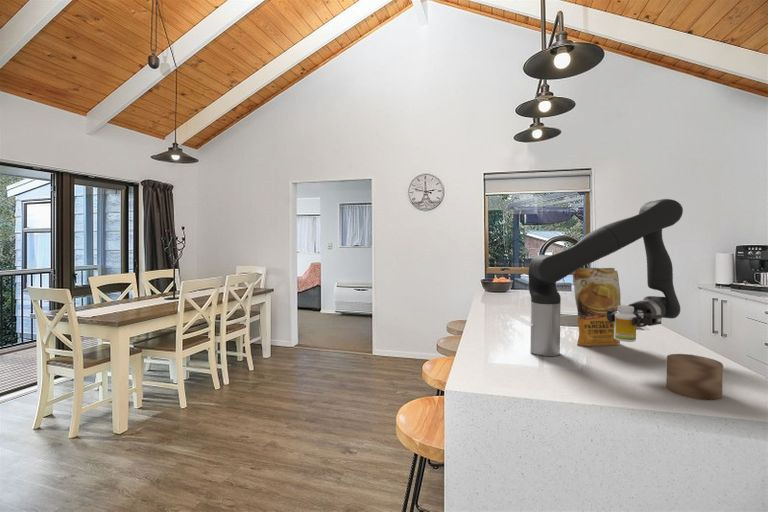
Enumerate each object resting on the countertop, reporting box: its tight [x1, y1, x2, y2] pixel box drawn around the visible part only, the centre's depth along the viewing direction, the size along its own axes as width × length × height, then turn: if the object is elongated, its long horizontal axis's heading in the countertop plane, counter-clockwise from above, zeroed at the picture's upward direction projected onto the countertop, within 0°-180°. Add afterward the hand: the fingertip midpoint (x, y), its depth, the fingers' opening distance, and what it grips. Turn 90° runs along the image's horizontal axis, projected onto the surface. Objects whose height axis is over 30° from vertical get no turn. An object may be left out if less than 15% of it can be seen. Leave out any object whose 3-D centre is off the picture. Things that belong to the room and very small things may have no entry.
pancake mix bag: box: [572, 267, 622, 347], centre depth 141 cm, size 7×19×28 cm, turn 94°
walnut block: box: [665, 353, 724, 401], centre depth 98 cm, size 11×11×8 cm
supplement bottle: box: [614, 304, 637, 343], centre depth 111 cm, size 5×5×10 cm
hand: (621, 320), depth 110 cm, fingers closed on supplement bottle, 5 cm apart
